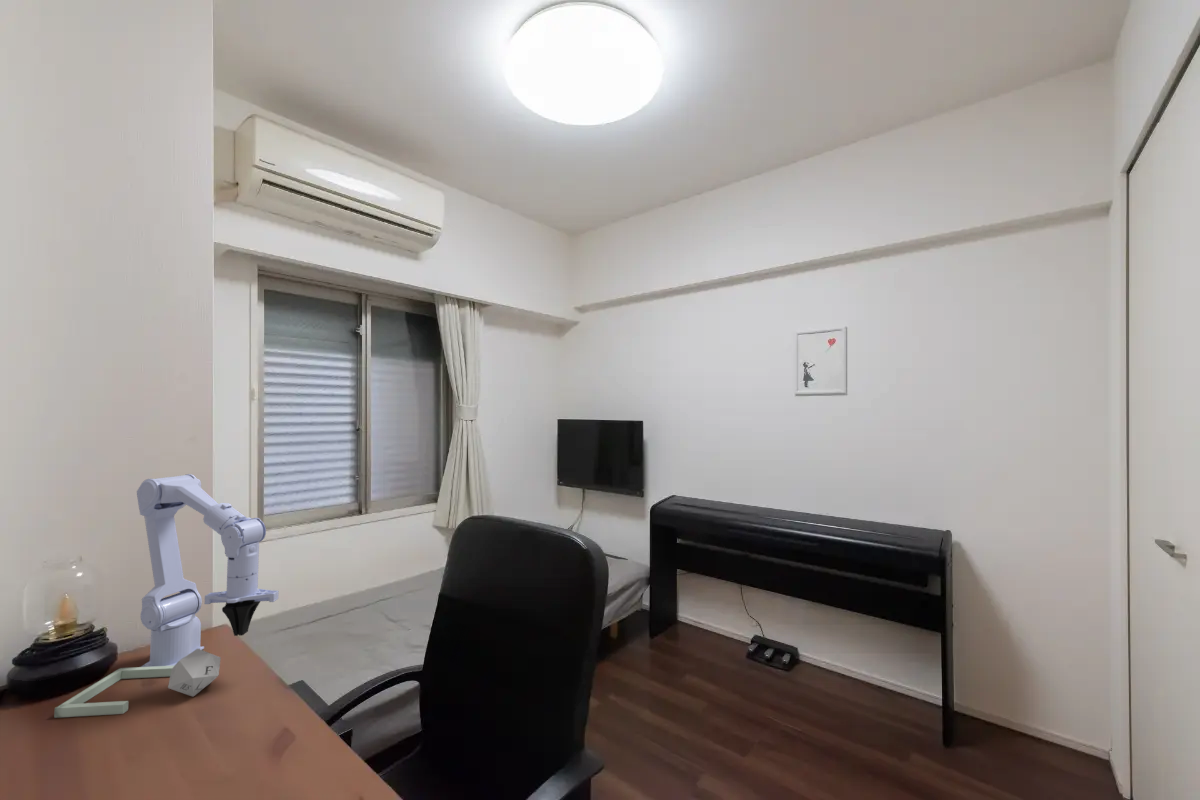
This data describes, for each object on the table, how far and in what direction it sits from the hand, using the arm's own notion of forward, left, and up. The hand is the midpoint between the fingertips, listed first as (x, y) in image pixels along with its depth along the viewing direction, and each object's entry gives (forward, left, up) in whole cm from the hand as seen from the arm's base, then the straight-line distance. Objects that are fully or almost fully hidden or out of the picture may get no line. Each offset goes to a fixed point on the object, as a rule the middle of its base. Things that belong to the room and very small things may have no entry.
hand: (241, 633), depth 107 cm
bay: (+5, -20, -9) cm, 23 cm away
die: (+5, -6, -10) cm, 12 cm away
